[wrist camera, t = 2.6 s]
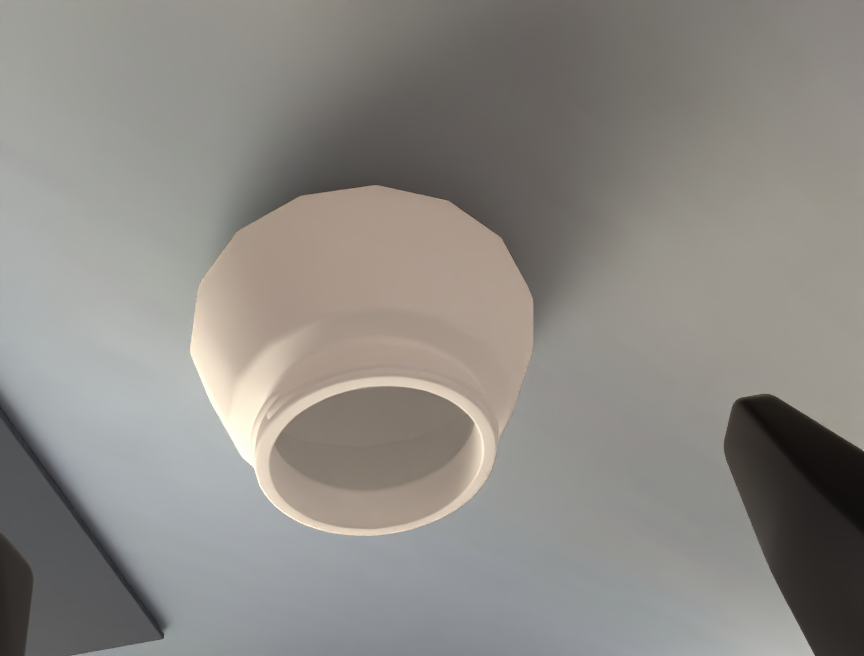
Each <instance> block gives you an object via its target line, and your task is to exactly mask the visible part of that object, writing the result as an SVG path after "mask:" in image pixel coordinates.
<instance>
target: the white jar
mask: <svg viewBox="0 0 864 656" xmlns="http://www.w3.org/2000/svg"><path fill="white" fill-rule="evenodd" d="M532 352H533V298H532V296H531V293H530V291H529V288H528V286H527V284H526V282H525V280H524V278H523V277H522V275H521V273H520V271H519V269H518V268H517V266H516V264H515V262H514V260H513V258H512V257H511V255H510V253H509V251H508V249H507V247H506V246H505V244H504V242H503V240H502V238H501V237H500V236H498V235H497V234H495V233H494V232H492V231H491V230H490V229H488V228H487V227H485V226H484V225H482V224H481V223H480V222H478V221H477V220H475V219H474V218H472V217H471V216H469V215H468V214H467V213H465V212H464V211H462V210H461V209H459V208H458V207H457V206H455V205H454V204H452V203H451V202H449V201H448V200H443V199H438V198H434V197H429V196H425V195H420V194H416V193H411V192H407V191H402V190H397V189H393V188H388V187H384V186H379V185H372V186H365V187H358V188H351V189H344V190H337V191H330V192H323V193H316V194H309V195H302V196H299V197H297V198H296V199H294V200H292V201H290V202H288V203H287V204H285V205H283V206H281V207H280V208H278V209H276V210H274V211H272V212H271V213H269V214H267V215H265V216H263V217H262V218H260V219H258V220H256V221H255V222H253V223H251V224H249V225H247V226H246V227H244V228H242V229H240V230H238V231H237V232H236V234H235V235H234V236H233V238H232V239H231V241H230V242H229V243H228V245H227V246H226V247H225V249H224V250H223V251H222V253H221V254H220V256H219V257H218V258H217V260H216V261H215V262H214V264H213V265H212V266H211V268H210V269H209V270H208V272H207V273H206V275H205V276H204V277H203V279H202V280H201V281H200V285H199V290H198V294H197V300H196V307H195V315H194V323H193V330H192V338H191V345H190V354H191V356H192V359H193V361H194V363H195V366H196V368H197V371H198V373H199V376H200V378H201V380H202V383H203V385H204V388H205V390H206V392H207V395H208V397H209V400H210V402H211V403H212V405H213V407H214V409H215V411H216V412H217V414H218V416H219V418H220V419H221V421H222V423H223V425H224V426H225V428H226V430H227V432H228V433H229V435H230V437H231V439H232V441H233V442H234V444H235V446H236V448H237V449H238V451H239V453H240V455H241V456H242V457H243V458H244V459H245V460H246V461H247V462H248V463H249V464H250V465H252V466H253V467H254V468H255V473H256V477H257V480H258V483H259V485H260V487H261V489H262V491H263V492H264V494H265V495H266V497H267V498H268V499H269V500H270V501H271V503H272V504H273V505H275V506H276V507H277V508H278V509H279V510H280V511H282V512H283V513H284V514H286V515H287V516H289V517H291V518H292V519H294V520H296V521H298V522H300V523H302V524H305V525H307V526H310V527H312V528H316V529H319V530H322V531H327V532H331V533H337V534H344V535H358V536H369V535H384V534H391V533H397V532H402V531H406V530H410V529H414V528H417V527H420V526H423V525H426V524H429V523H431V522H434V521H436V520H438V519H440V518H442V517H444V516H446V515H448V514H450V513H451V512H453V511H454V510H456V509H458V508H459V507H460V506H462V505H463V504H464V503H466V502H467V501H468V500H469V499H470V498H471V497H473V496H474V495H475V494H476V492H477V491H478V490H479V489H480V488H481V487H482V485H483V484H484V483H485V481H486V480H487V478H488V476H489V475H490V473H491V470H492V468H493V466H494V462H495V459H496V453H497V448H498V443H499V438H500V436H501V435H502V433H503V431H504V429H505V427H506V425H507V423H508V421H509V419H510V417H511V415H512V413H513V410H514V407H515V404H516V401H517V398H518V395H519V392H520V389H521V386H522V383H523V379H524V376H525V373H526V370H527V367H528V364H529V361H530V358H531V355H532Z"/></svg>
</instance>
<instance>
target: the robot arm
mask: <svg viewBox="0 0 864 656" xmlns="http://www.w3.org/2000/svg"><path fill="white" fill-rule="evenodd" d="M724 452H725V457H726V460H727V463H728V465H729V468H730V470H731V473H732V476H733V478H734V481H735V483H736V486H737V488H738V491H739V493H740V496H741V498H742V501H743V503H744V506H745V508H746V511H747V513H748V516H749V518H750V521H751V523H752V526H753V529H754V531H755V534H756V536H757V539H758V541H759V544H760V546H761V549H762V551H763V554H764V556H765V558H766V561H767V563H768V565H769V568H770V570H771V572H772V574H773V576H774V578H775V580H776V582H777V584H778V586H779V588H780V590H781V592H782V594H783V596H784V598H785V600H786V602H787V604H788V605H789V607H790V609H791V611H792V613H793V615H794V617H795V619H796V621H797V622H798V624H799V626H800V628H801V630H802V632H803V634H804V636H805V638H806V639H807V641H808V643H809V645H810V647H811V649H812V651H813V653H814V655H815V656H864V451H863V450H861V449H859V448H858V447H856V446H855V445H853V444H851V443H850V442H848V441H847V440H845V439H843V438H842V437H840V436H838V435H837V434H835V433H834V432H832V431H830V430H829V429H827V428H826V427H824V426H822V425H821V424H819V423H818V422H816V421H814V420H813V419H811V418H810V417H808V416H806V415H805V414H803V413H802V412H800V411H798V410H797V409H795V408H793V407H792V406H790V405H789V404H787V403H785V402H784V401H782V400H781V399H779V398H777V397H775V396H773V395H770V394H759V395H753V396H747V397H742V398H739V399H737V400H736V401H735V402H734V403H733V406H732V410H731V414H730V418H729V422H728V426H727V431H726V435H725V439H724ZM33 587H34V575H33V571H32V568H31V566H30V564H29V562H28V561H27V560H26V559H25V558H24V556H23V555H22V554H21V553H20V552H19V551H18V549H17V548H16V547H15V546H14V545H13V544H12V542H11V541H10V540H9V539H8V538H7V537H6V536H5V534H4V533H2V532H1V531H0V656H25V651H26V643H27V635H28V627H29V619H30V611H31V603H32V595H33Z"/></svg>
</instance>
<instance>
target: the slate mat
mask: <svg viewBox="0 0 864 656" xmlns="http://www.w3.org/2000/svg"><path fill="white" fill-rule="evenodd" d="M0 531H1V532H2V533H4V534H5V536H6V537H7V538H8V539H9V540H10V541H11V542H12V544H13V545H14V546H15V547H16V548H17V549H18V551H19V552H20V553H21V554H22V555H23V556H24V558H25V559H26V560H27V561H28V562H29V564H30V566H31V568H32V571H33V575H34V587H33V595H32V603H31V611H30V619H29V627H28V635H27V643H26V651H25V656H71V655H77V654H82V653H88V652H93V651H99V650H104V649H110V648H115V647H121V646H127V645H132V644H138V643H143V642H149V641H154V640H160V639H163V638H164V633H163V632H162V630H161V629H160V628H159V626H158V625H157V623H156V622H155V621H154V619H153V618H152V617H151V615H150V614H149V612H148V611H147V610H146V608H145V607H144V606H143V604H142V603H141V601H140V600H139V599H138V597H137V596H136V595H135V593H134V592H133V590H132V589H131V588H130V586H129V585H128V584H127V582H126V581H125V579H124V578H123V577H122V575H121V574H120V573H119V571H118V570H117V568H116V567H115V566H114V564H113V563H112V562H111V560H110V559H109V557H108V556H107V555H106V553H105V552H104V551H103V549H102V548H101V546H100V545H99V544H98V542H97V541H96V540H95V538H94V537H93V535H92V534H91V533H90V531H89V530H88V529H87V527H86V526H85V524H84V523H83V522H82V520H81V519H80V517H79V516H78V515H77V513H76V512H75V511H74V509H73V508H72V506H71V505H70V504H69V502H68V501H67V500H66V498H65V497H64V495H63V494H62V493H61V491H60V490H59V489H58V487H57V486H56V484H55V483H54V482H53V480H52V479H51V478H50V476H49V475H48V473H47V472H46V471H45V469H44V468H43V467H42V465H41V464H40V462H39V461H38V460H37V458H36V457H35V456H34V454H33V453H32V451H31V450H30V449H29V447H28V446H27V445H26V443H25V442H24V440H23V439H22V438H21V436H20V435H19V434H18V432H17V431H16V429H15V428H14V427H13V425H12V424H11V423H10V421H9V420H8V418H7V417H6V416H5V414H4V413H3V412H2V410H1V409H0Z"/></svg>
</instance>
